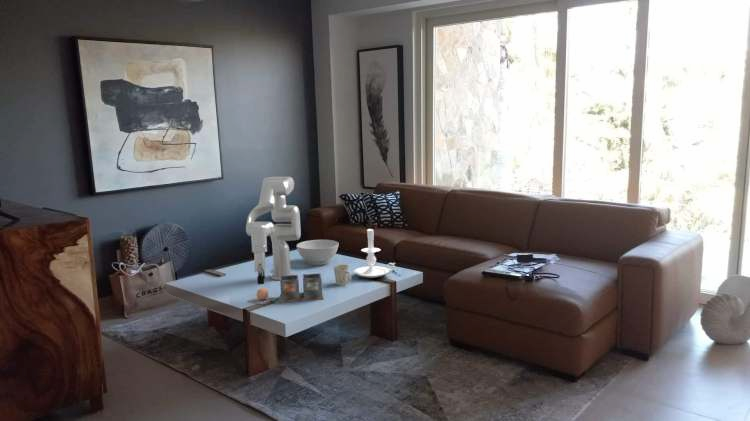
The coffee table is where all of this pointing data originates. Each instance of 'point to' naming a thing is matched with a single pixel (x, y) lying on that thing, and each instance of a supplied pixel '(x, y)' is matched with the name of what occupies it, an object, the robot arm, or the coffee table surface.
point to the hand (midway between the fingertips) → (261, 281)
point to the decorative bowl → (317, 251)
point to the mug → (342, 274)
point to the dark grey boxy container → (310, 288)
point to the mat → (262, 300)
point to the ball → (262, 293)
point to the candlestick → (372, 261)
